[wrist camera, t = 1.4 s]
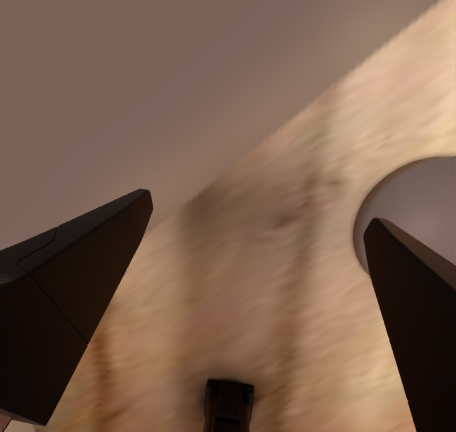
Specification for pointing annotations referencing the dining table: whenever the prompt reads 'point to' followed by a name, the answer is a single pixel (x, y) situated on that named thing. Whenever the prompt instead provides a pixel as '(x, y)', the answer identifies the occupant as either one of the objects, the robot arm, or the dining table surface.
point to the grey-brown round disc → (415, 205)
